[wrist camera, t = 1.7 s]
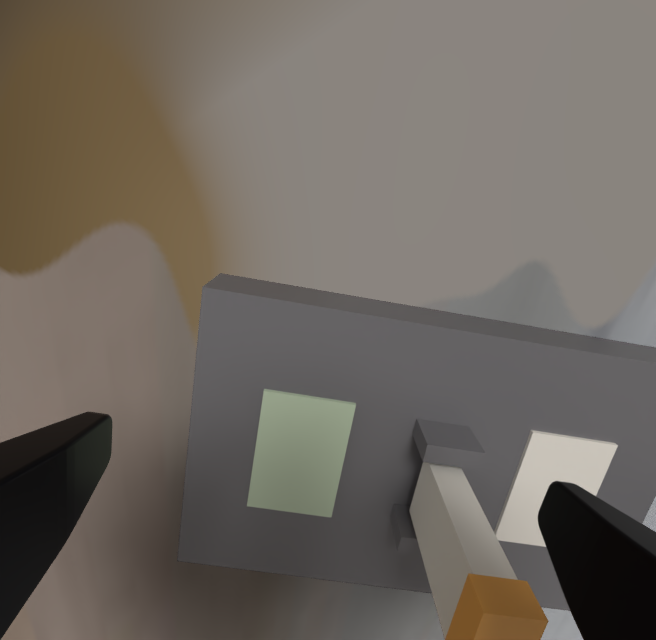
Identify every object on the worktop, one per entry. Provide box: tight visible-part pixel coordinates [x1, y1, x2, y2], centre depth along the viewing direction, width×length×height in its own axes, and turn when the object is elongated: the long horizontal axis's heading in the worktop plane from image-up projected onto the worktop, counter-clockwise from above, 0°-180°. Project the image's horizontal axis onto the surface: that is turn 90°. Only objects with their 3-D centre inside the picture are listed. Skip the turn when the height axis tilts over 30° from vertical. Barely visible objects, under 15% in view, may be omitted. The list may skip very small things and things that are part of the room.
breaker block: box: [177, 273, 656, 611], centre depth 20 cm, size 14×22×5 cm, turn 80°
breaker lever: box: [409, 462, 548, 640], centre depth 15 cm, size 3×2×8 cm, turn 170°
